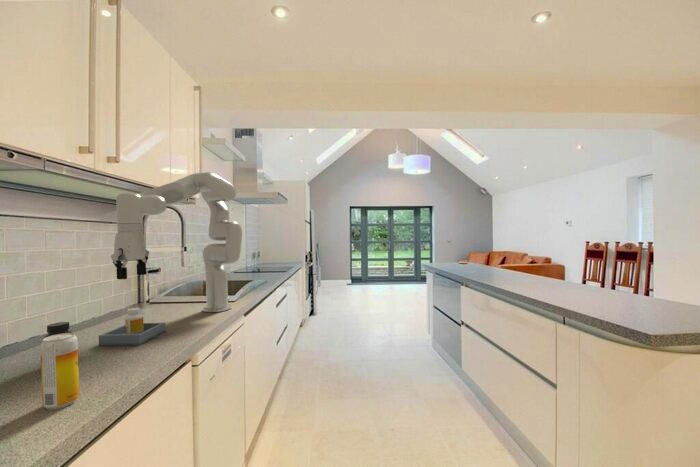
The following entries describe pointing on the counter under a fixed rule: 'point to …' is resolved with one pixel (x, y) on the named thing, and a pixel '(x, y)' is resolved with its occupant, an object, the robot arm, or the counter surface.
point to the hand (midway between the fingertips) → (132, 276)
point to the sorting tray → (131, 335)
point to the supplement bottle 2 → (134, 321)
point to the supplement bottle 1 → (57, 329)
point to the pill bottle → (59, 370)
